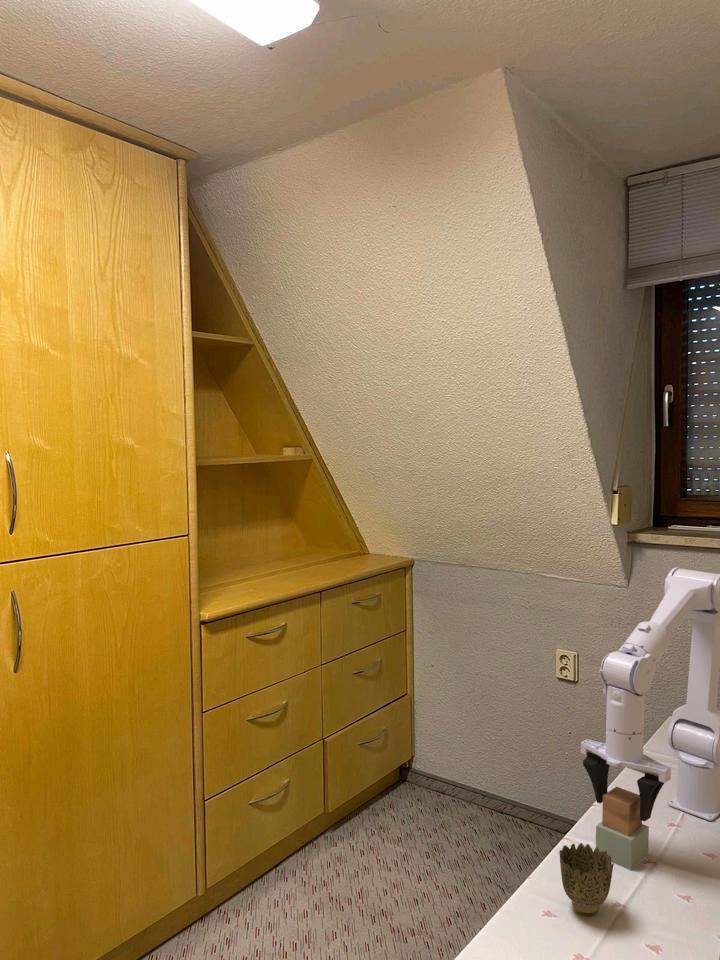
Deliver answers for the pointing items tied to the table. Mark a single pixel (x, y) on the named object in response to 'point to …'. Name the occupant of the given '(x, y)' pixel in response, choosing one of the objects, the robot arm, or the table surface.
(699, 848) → the table surface
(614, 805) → the walnut block
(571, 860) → the cup
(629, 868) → the grey block
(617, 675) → the robot arm
